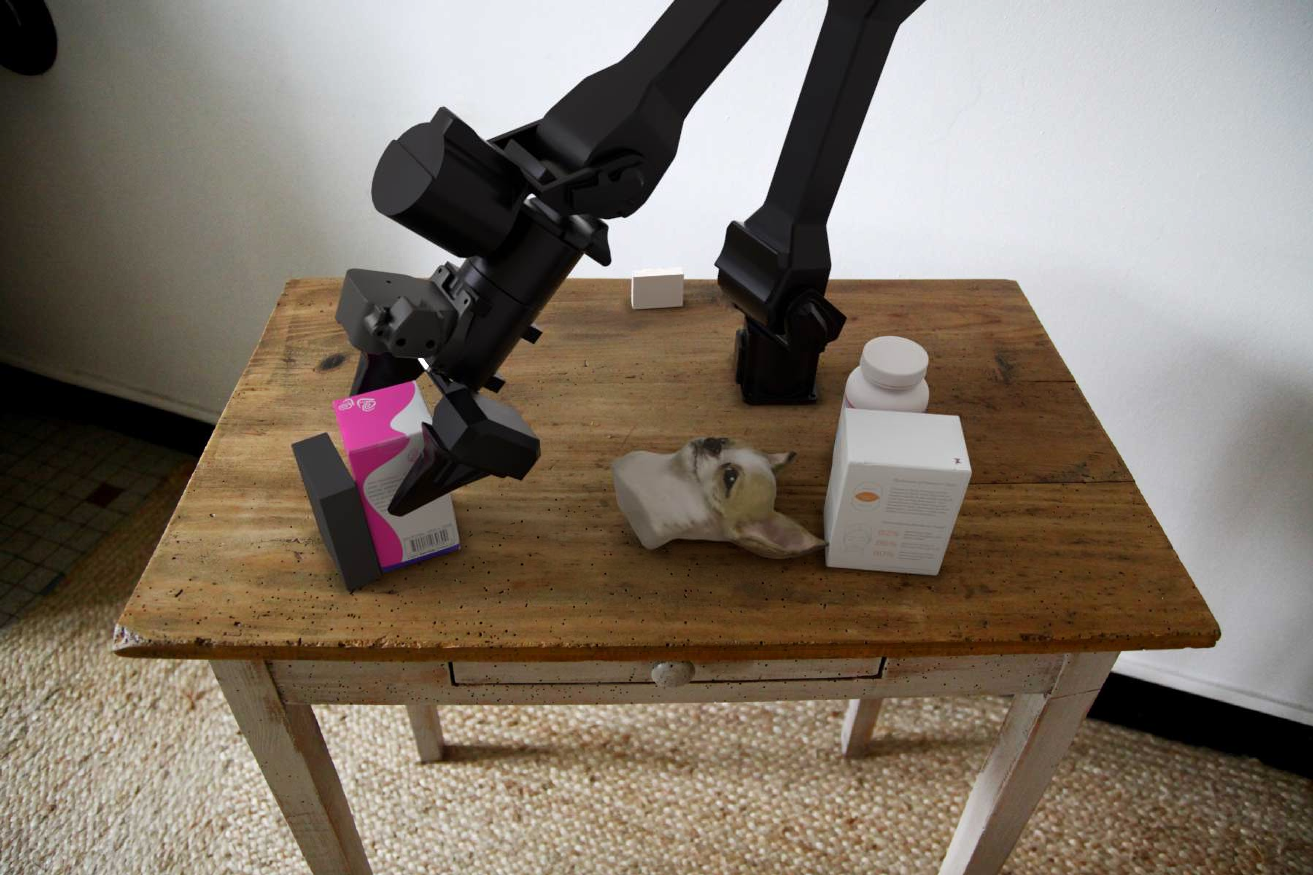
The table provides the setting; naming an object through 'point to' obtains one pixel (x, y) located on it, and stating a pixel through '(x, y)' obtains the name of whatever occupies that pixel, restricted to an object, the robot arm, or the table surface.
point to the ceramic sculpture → (710, 497)
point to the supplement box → (393, 473)
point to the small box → (894, 490)
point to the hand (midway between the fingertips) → (368, 470)
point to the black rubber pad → (337, 510)
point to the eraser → (657, 288)
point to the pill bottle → (888, 378)
